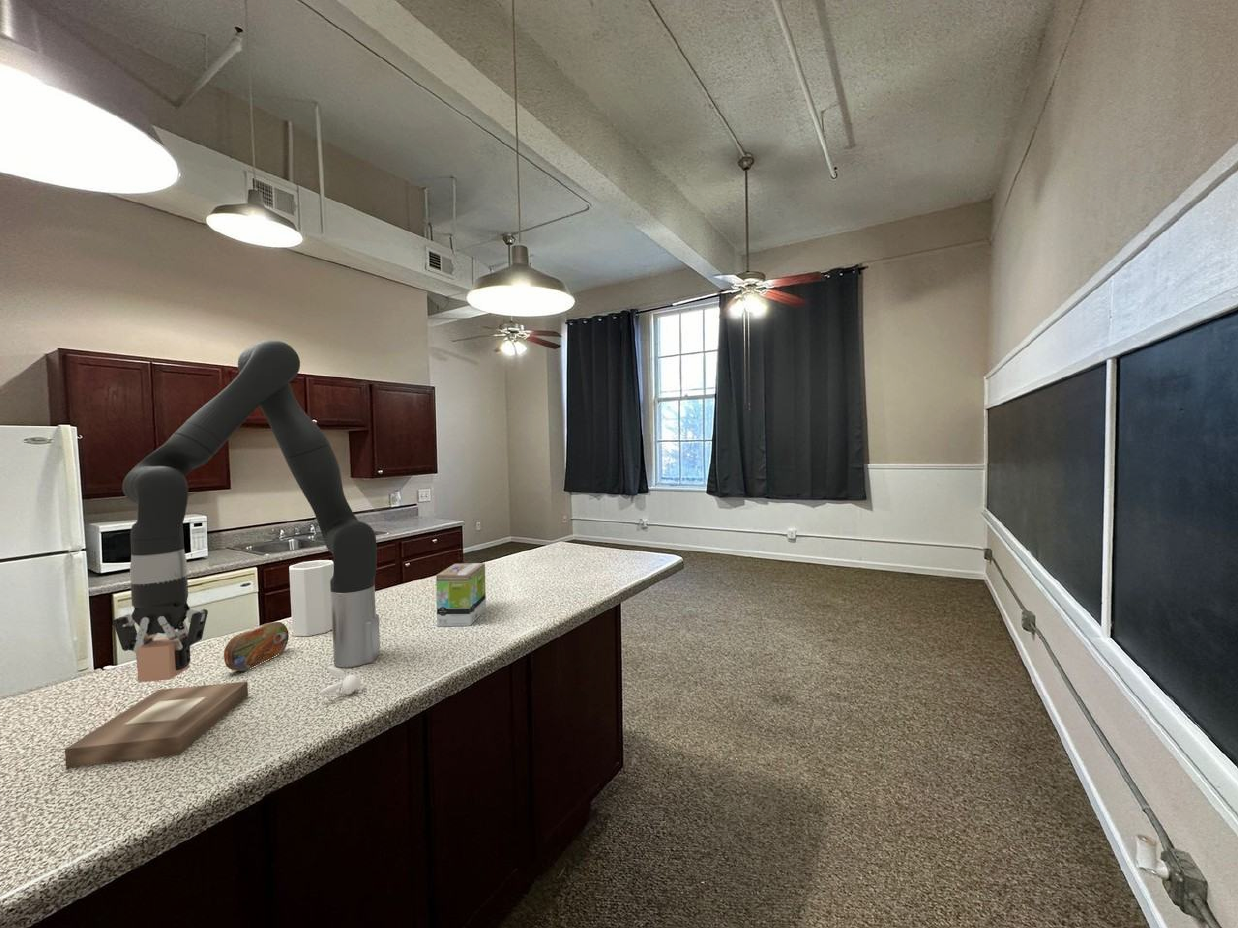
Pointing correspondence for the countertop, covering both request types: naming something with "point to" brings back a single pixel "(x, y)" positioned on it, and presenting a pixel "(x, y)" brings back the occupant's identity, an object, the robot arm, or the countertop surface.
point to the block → (157, 661)
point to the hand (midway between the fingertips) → (164, 669)
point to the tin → (256, 646)
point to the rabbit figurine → (343, 682)
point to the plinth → (158, 725)
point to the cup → (311, 597)
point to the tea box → (460, 594)
